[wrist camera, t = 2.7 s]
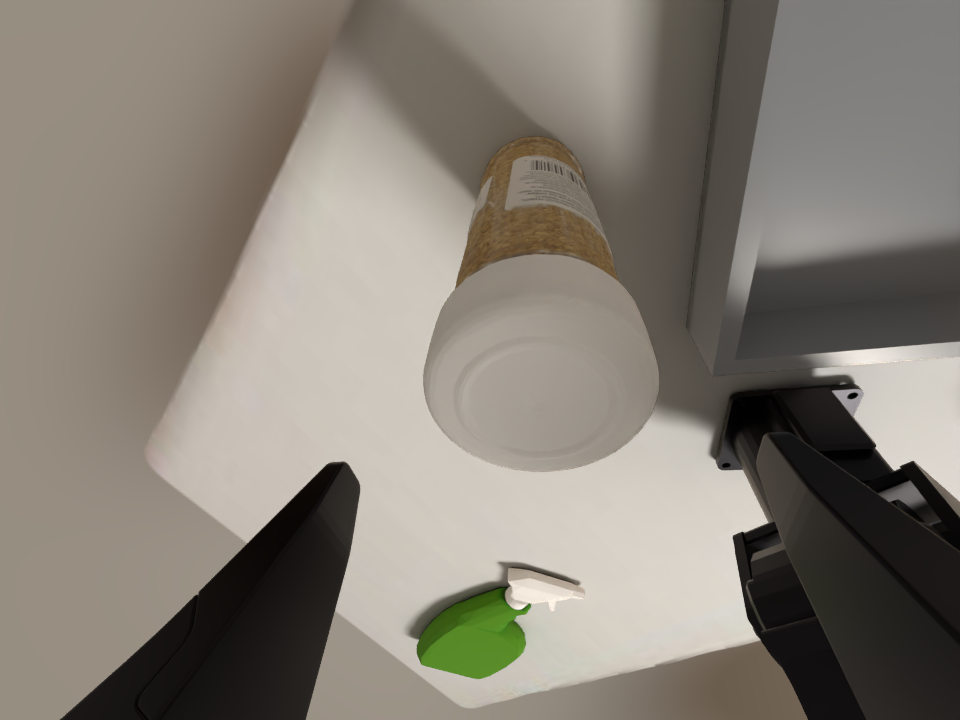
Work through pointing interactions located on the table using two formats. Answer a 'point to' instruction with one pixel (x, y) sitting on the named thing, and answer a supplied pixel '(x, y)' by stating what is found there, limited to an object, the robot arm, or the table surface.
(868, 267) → the tote
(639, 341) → the sprinkles bottle
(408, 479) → the table surface
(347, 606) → the table surface
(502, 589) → the spray bottle
